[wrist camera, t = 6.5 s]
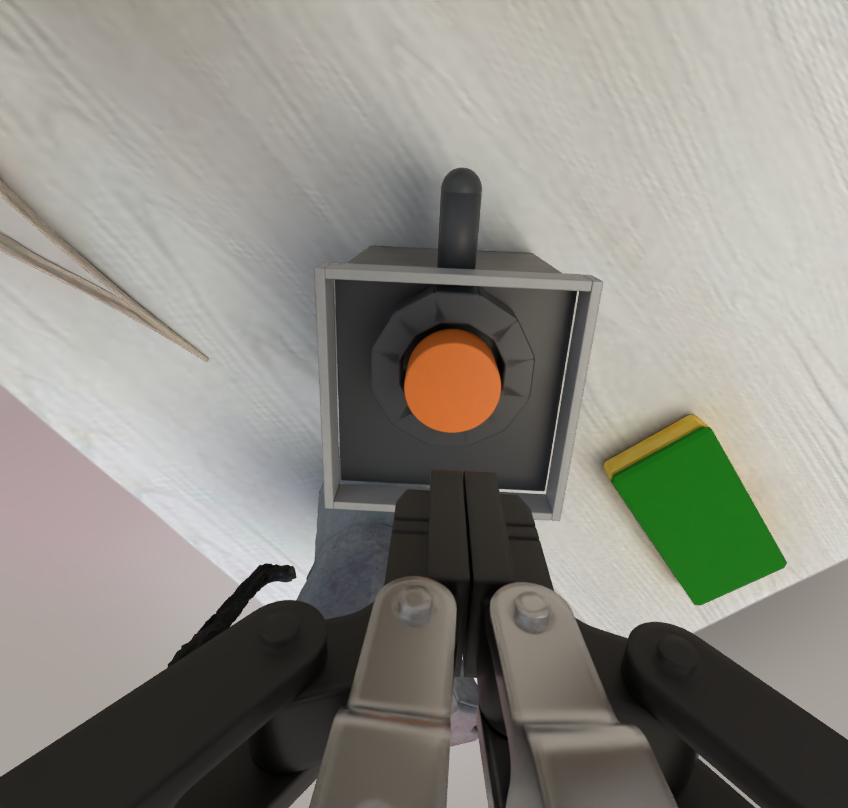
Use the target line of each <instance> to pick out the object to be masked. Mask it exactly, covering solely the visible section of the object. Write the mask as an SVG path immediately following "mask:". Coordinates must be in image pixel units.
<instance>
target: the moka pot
mask: <svg viewBox="0 0 848 808" xmlns="http://www.w3.org/2000/svg"><path fill="white" fill-rule="evenodd" d="M339 480H340V484H360V485H378V486H397V487H416V488H430V485H420V484H401V483H383V482H364V481H345V480H341V469H340V459H339ZM394 513H395V512H384V511H366V510H347V509H334V508H333V509H329V508H325V497H324V482H323V485H322V488H321V490H320V492H319V502H318V519H317V534H316V541H315V561H314V564H313V566H312V568H311V570H310V572H309V574H308V576H307V581H306V583H305V585H304V587H303V588H302V590H301V592H300V594H299V596H298V598H297V600H296V601H301V602H305V603H308V604H310V605H312V606H314V607H315V608H317V609H318V610H319V611H320V612H321V614H322V615H323V617H324V619H325V620H326V619H330V618H335V617H340V616H344V615H348V614H352V613H355V612H357V611H359V610H361V609H363V608H365V607H367V606H368V605H369V604H371V603H372V602H373V601H374V600H375V598H376V596H377V594H378V592H379V591H380V590H381V589H382V588H383V586H384V582H385V576H386V569H387V562H388V555H389V548H390V541H391V534H392V527H393V520H394ZM295 578H296V573H295V569H294V567H293V566H289V565H284V566H279V565H277V564H276V565H274V566H273V565H272V564H264V565H259V566H258V567H257V569H256V570H255V571H254V572H253V573H252V574H251V575H250V576H249V577H248V578H247V579H246V580H245V581H244V582H242V583H241V584H240V585H239V587H238V588H237V589H236V591H235V592H234V594H233V595H232V596H231V597H229V598H228V599H227V600H226V601H225V602H224V603H223V605H222V606H221V607H220V608H219V609H218V610H217V612H216V614H214V615H212V616H211V618H210V619H209V620H207V621H206V622H205V624H204V625H203V627H202V628H201V629H200V630H199V631H198V633H197V634H195V635H194V636H193V638H192V640H191V641H190V642H188V643H186V644H184V645H183V646H182V647H181V650H179V651H177V653H176V654H175V656H174V658H173V659H172V661H171V662H170V663H169V664H168V667H170V666H171V665H173V664H174V663H176V662H177V661H179V660H180V659H182V658H183V657H185V656H187V655H188V654H190V653H191V652H193V651H194V650H196V649H197V648H199V647H200V646H202V645H203V644H205V643H206V642H208V641H209V640H211V639H213V638H214V637H216V636H217V635H219V634H220V633H222V632H223V631H225V630H226V629H228V628H229V627H230V626H231V624H232V623H233V622H234V621H235V620H236V618H237V617H238V616H239V615H240V614H241V612H242V610H243V608H245V606H246V605H247V604H248V601H249V600H250V599H251V598H253V597H254V595H255V594H256V592H257V591H260V589H261V588H262V587H263V586H265V585H266V584H268V583H270V582H274V581H280V582H290V581H292V579H295ZM478 698H479V696H478V685H477V684H476V682H475V680H474V678H471V677H464V671H463V660H462V664H461V674H460V677H454V687H453V698H452V706H451V716H450V721H451V734H450V747H451V746H455V745H459V744H463V743H467V742H472V741H475V740H477V739H478V738H479V737H478V730H477V723H476V714H477V706H478Z"/></svg>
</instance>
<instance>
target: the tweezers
mask: <svg viewBox="0 0 848 808" xmlns="http://www.w3.org/2000/svg"><path fill="white" fill-rule="evenodd" d="M0 196H1V197H2V198H3V199H4V200H5V201H6V202H7V203H8V204H9V205H10V206H12V207H13V208H14V209H15V210H16V211H18V212H19V213H20V214H21V215H22V216H23V217H24V218H26V219H27V220H28V221H29V222H30V223H31V224H33V225H34V226H35V227H36V228H37V229H38V230H39V231H40V232H42V233H43V234H44V235H45V236H46V237H47V238H48V239H50V240H51V241H52V242H53V243H54V244H55V245H57V246H58V247H59V248H60V249H61V250H62V251H64V252H65V253H66V254H67V255H68V256H69V257H71V258H72V259H73V260H74V261H75V262H77V263H78V264H79V265H80V266H81V267H82V268H84V269H85V270H86V271H87V272H88V273H90V274H91V275H92V276H93V277H95V278H96V279H97V280H99V281H100V282H101V283H103V284H104V285H105V286H107V287H108V288H109V289H110V290H112V291H113V292H114V293H115V294H117V295H118V296H119V297H121V298H122V299H123V300H122V299H120V298H118V297H117V296H115V295H113V294H112V293H110V292H108V291H106V290H104V289H102V288H100V287H98V286H96V285H94V284H92V283H90V282H88V281H87V280H85V279H83V278H81V277H78V276H76V275H74V274H72V273H70V272H68V271H66V270H64V269H62V268H60V267H59V266H57V265H55V264H53V263H51V262H49V261H47V260H45V259H43V258H41V257H39V256H38V255H36V254H34V253H32V252H31V251H29V250H27V249H26V248H24V247H22V246H21V245H19V244H18V243H16V242H15V241H13V240H12V239H10V238H8V237H5V236H3V235H1V234H0V251H2V252H4V253H6V254H8V255H9V256H12V257H14V258H16V259H18V260H20V261H22V262H24V263H26V264H28V265H30V266H32V267H34V268H36V269H38V270H40V271H42V272H44V273H46V274H48V275H50V276H52V277H54V278H56V279H58V280H60V281H62V282H64V283H66V284H68V285H70V286H72V287H74V288H76V289H78V290H80V291H82V292H84V293H86V294H88V295H90V296H92V297H94V298H95V299H97V300H99V301H101V302H103V303H105V304H106V305H108V306H110V307H112V308H114V309H116V310H118V311H120V312H122V313H124V314H125V315H127V316H129V317H130V318H132V319H134V320H136V321H138V322H140V323H141V324H143V325H145V326H147V327H149V328H150V329H152V330H154V331H156V332H158V333H159V334H161V335H163V336H164V337H166V338H168V339H169V340H171V341H173V342H174V343H176V344H178V345H179V346H181V347H183V348H184V349H186V350H187V351H189V352H191V353H193V354H194V355H196V356H197V357H198V358H200V359H202V360H203V361H205V362H206V361H208V358H207V357H206V356H205V355H203V354H202V353H201V352H200V351H198V350H197V349H196V348H195V347H193V346H192V345H191V344H189V343H188V342H187V341H186V340H184V339H183V338H182V337H180V336H179V335H178V334H176V333H175V332H174V331H172V330H171V329H170V328H168V327H167V326H166V325H164V324H163V323H162V322H161V321H159V320H158V319H157V318H155V317H154V316H153V315H151V314H150V313H149V312H147V311H146V310H145V309H144V308H142V307H141V306H140V305H139V304H137V303H136V302H135V301H134V300H132V299H131V298H130V297H129V296H127V295H126V294H125V293H124V292H123V291H121V290H120V289H119V288H118V287H117V286H116V285H114V284H113V283H112V282H111V281H110V280H108V279H107V278H106V277H105V276H104V275H103V274H102V273H100V272H99V271H98V270H97V269H96V268H95V267H93V266H92V265H91V264H90V263H89V262H88V261H86V260H85V259H84V258H83V257H82V256H81V255H80V254H78V253H77V252H76V251H75V250H74V249H73V248H71V247H70V246H69V245H68V244H67V243H66V242H65V241H64V240H62V239H61V238H60V237H59V236H58V235H57V234H55V233H54V232H53V231H52V230H51V229H50V228H49V227H47V226H46V225H45V224H44V223H43V222H42V221H41V220H40V219H39V218H38V217H37V216H36V215H35V214H34V213H33V212H32V210H31V209H30V208H29V207H28V206H27V205H26V204H25V203H24V202H23V201H21V200H20V199H19V198H18V197H17V196H16V195H15V194H14V193H13V192H12V191H11V190H10V189H9V188H8V187H7V186H6V185H5V184H4V183H3V182H2V181H1V180H0ZM124 300H125V301H126V302H125V301H124ZM128 303H129V304H128Z"/></svg>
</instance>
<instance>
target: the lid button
mask: <svg viewBox="0 0 848 808" xmlns="http://www.w3.org/2000/svg"><path fill="white" fill-rule="evenodd" d="M404 393H405V399H406V402H407V404H408V406H409V408H410V410H411V412H412V413H413V414H414V416H415V417H416V418H417V419H418V420H419V421H421V422H422V423H423V424H425V425H426V426H428V427H430V428H432V429H435V430H437V431H441V432H448V433H457V432H463V431H467V430H470V429H473V428H475V427H477V426H479V425H480V424H481V423H483V422H484V421H485V420H486V419H488V418H489V417H490V415H491V414H492V413H493V411H494V410H495V408H496V406H497V404H498V402H499V399H500V395H501V379H500V375H499V371H498V368H497V365H496V362H495V359H494V356H493V354H492V352H491V350H490V348H489V347H488V346H487V344H486V343H485V342H484V341H483V340H482V339H480V338H479V337H478V336H476V335H474V334H473V333H470V332H468V331H465V330H461V329H444V330H440V331H436V332H434V333H432V334H430V335H428V336H426V337H425V338H424V339H422V340H421V341H420V342H419V343H418V344H417V346H416V347H415V348H414V350H413V352H412V353H411V356H410V358H409V362H408V366H407V371H406V377H405V383H404Z"/></svg>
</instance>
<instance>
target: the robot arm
mask: <svg viewBox="0 0 848 808" xmlns="http://www.w3.org/2000/svg"><path fill="white" fill-rule="evenodd" d="M462 654H463V671H464V677H471V678H477V682H478V696H479V698H478V706H477V714H476V723H477V730H478V737H479V744H480V751H481V758H482V765H483V772H484V779H485V786H486V793H487V800H488V807H489V808H755V807H754V806H753V805H752V804H750V803H749V802H748V801H747V800H746V799H745V798H743V797H742V796H741V795H740V794H739V793H738V792H736V791H735V790H734V789H733V788H732V787H731V786H730V785H729V784H727V783H726V782H725V781H724V780H723V779H722V778H720V777H719V776H718V775H717V774H716V773H715V772H714V771H712V770H711V769H710V768H709V767H708V766H707V765H705V764H704V763H703V762H702V761H701V760H699V759H698V756H699V755H700V756H702V757H703V758H704V759H705V760H706V761H708V762H709V763H710V764H711V765H712V766H713V767H715V768H716V769H717V770H718V771H719V772H720V773H721V774H723V775H724V776H725V777H726V778H727V779H728V780H730V781H731V782H732V783H733V784H734V785H735V786H736V787H738V788H739V789H740V790H741V791H742V792H743V793H745V794H746V795H747V796H748V797H749V798H751V799H752V800H753V801H754V802H755V803H756V804H758V805H759V806H760V807H761V808H848V740H847V739H846V738H844V737H843V736H842V735H840V734H839V733H837V732H836V731H834V730H833V729H831V728H830V727H828V726H827V725H826V724H824V723H823V722H821V721H820V720H818V719H817V718H815V717H814V716H812V715H811V714H810V713H808V712H807V711H805V710H804V709H802V708H801V707H799V706H798V705H796V704H795V703H793V702H792V701H791V700H789V699H788V698H786V697H785V696H783V695H782V694H780V693H779V692H777V691H776V690H774V689H773V688H772V687H770V686H769V685H767V684H766V683H764V682H763V681H761V680H760V679H759V678H757V677H756V676H754V675H753V674H751V673H750V672H748V671H747V670H745V669H744V668H743V667H741V666H740V665H738V664H737V663H735V662H734V661H732V660H731V659H730V658H728V657H727V656H725V655H724V654H722V653H721V652H719V651H718V650H716V649H715V648H714V647H712V646H711V645H709V644H708V643H706V642H705V641H703V640H702V639H700V638H699V637H697V636H696V635H694V634H693V633H691V632H689V631H687V630H685V629H683V628H680V627H678V626H675V625H671V624H668V623H662V622H649V623H644V624H641V625H639V626H637V627H635V628H634V629H633V630H632V631H631V633H630V635H629V638H625V637H622V636H618V635H615V634H612V633H609V632H606V631H603V630H600V629H597V628H594V627H591V626H589V625H587V624H585V623H583V622H581V621H580V620H578V619H577V618H575V617H574V615H573V612H572V610H571V608H570V606H569V605H568V604H567V602H566V601H565V600H564V599H563V598H562V597H561V596H560V595H558V594H557V593H556V592H554V589H553V586H552V582H551V579H550V575H549V571H548V568H547V564H546V561H545V557H544V554H543V550H542V547H541V543H540V541H539V536H538V533H537V529H536V528H535V522H534V519H533V515H532V512H531V509H530V508H529V507H528V505H527V504H526V503H525V502H524V501H523V500H522V499H521V498H520V497H519V496H518V495H510V494H500V492H499V487H498V482H497V477H496V473H495V472H480V471H464V472H463V480H462V471H459V470H440V469H431V475H430V490H413V489H407V490H406V491H405V492H404V493H403V494H402V496H401V497H400V498H399V499H398V500H397V501H396V506H395V513H394V520H393V527H392V534H391V541H390V548H389V555H388V562H387V569H386V576H385V582H384V586H383V588H382V589H381V590H380V591H379V592H378V594H377V596H376V598H375V600H374V601H373V602H372V603H371V604H369V605H368V606H367V607H365V608H363V609H361V610H359V611H357V612H355V613H352V614H348V615H344V616H340V617H335V618H330V619H326V620H325V619H324V617H323V615H322V614H321V612H320V611H319V610H318V609H317V608H315V607H314V606H312V605H310V604H308V603H305V602H301V601H295V600H284V601H277V602H274V603H270V604H267V605H265V606H263V607H261V608H259V609H258V610H256V611H254V612H252V613H251V614H249V615H248V616H246V617H245V618H243V619H242V620H240V621H239V622H237V623H236V624H234V625H232V626H231V627H229V628H228V629H226V630H225V631H223V632H222V633H220V634H219V635H217V636H216V637H214V638H213V639H211V640H209V641H208V642H206V643H205V644H203V645H202V646H200V647H199V648H197V649H196V650H194V651H193V652H191V653H190V654H188V655H187V656H185V657H183V658H182V659H180V660H179V661H177V662H176V663H174V664H173V665H171V666H170V667H168V668H167V669H165V670H164V671H162V672H161V673H159V674H158V675H156V676H154V677H153V678H151V679H150V680H148V681H147V682H145V683H144V684H142V685H141V686H139V687H138V688H136V689H134V690H133V691H131V692H130V693H128V694H127V695H125V696H124V697H122V698H121V699H119V700H118V701H116V702H115V703H113V704H112V705H110V706H108V707H107V708H105V709H104V710H102V711H101V712H99V713H98V714H96V715H95V716H93V717H92V718H90V719H89V720H87V721H86V722H84V723H83V724H81V725H79V726H78V727H76V728H75V729H73V730H72V731H70V732H69V733H67V734H66V735H64V736H62V737H61V738H60V739H58V740H56V741H55V742H53V743H52V744H50V745H49V746H47V747H46V748H44V749H43V750H41V751H40V752H38V753H36V754H35V755H33V756H32V757H30V758H29V759H27V760H26V761H24V762H23V763H21V764H20V765H18V766H17V767H15V768H13V769H12V770H10V771H9V772H7V773H6V774H4V775H3V776H1V777H0V808H288V807H290V806H291V805H292V804H293V802H294V801H295V800H296V799H297V798H298V797H299V796H300V795H301V794H302V793H303V792H304V791H305V790H306V789H307V788H308V787H309V786H310V785H311V784H312V783H313V782H314V781H315V780H316V779H317V781H316V784H315V788H314V792H313V795H312V799H311V803H310V806H309V808H446V806H447V788H448V770H449V752H450V734H451V721H450V716H451V706H452V698H453V687H454V677H460V674H461V664H462Z"/></svg>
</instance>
